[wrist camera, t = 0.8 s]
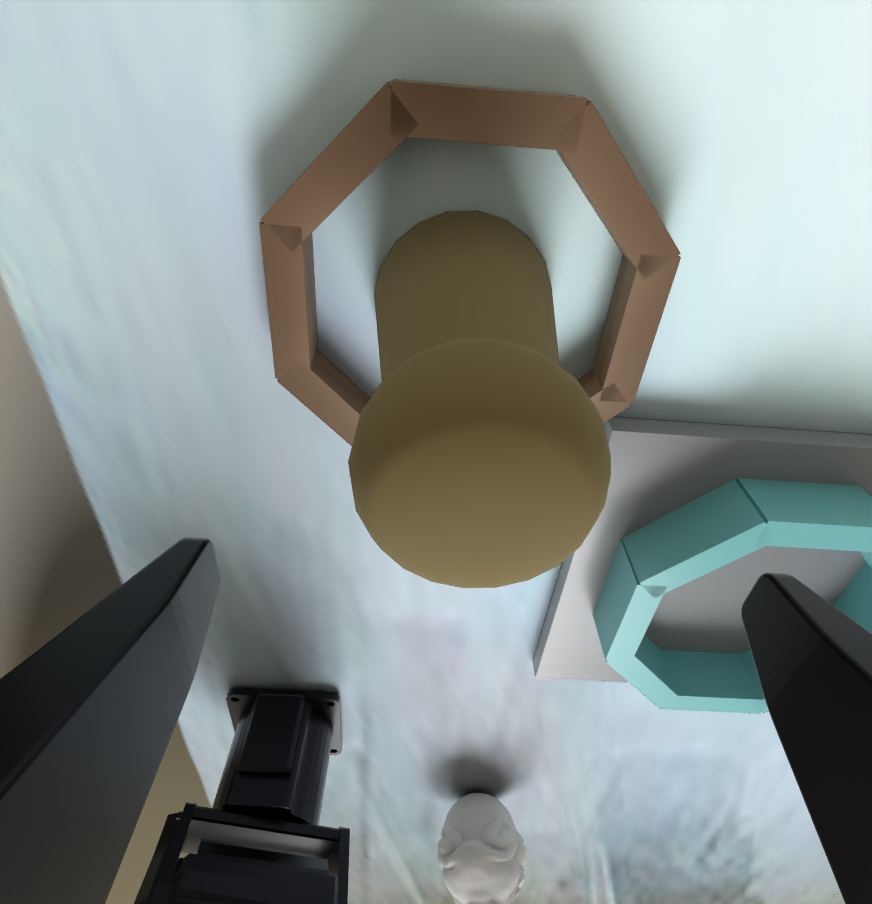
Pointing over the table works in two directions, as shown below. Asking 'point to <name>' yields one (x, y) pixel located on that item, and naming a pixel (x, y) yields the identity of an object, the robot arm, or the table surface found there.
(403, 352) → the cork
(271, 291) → the walnut ring
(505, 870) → the frog figurine
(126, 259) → the table surface
